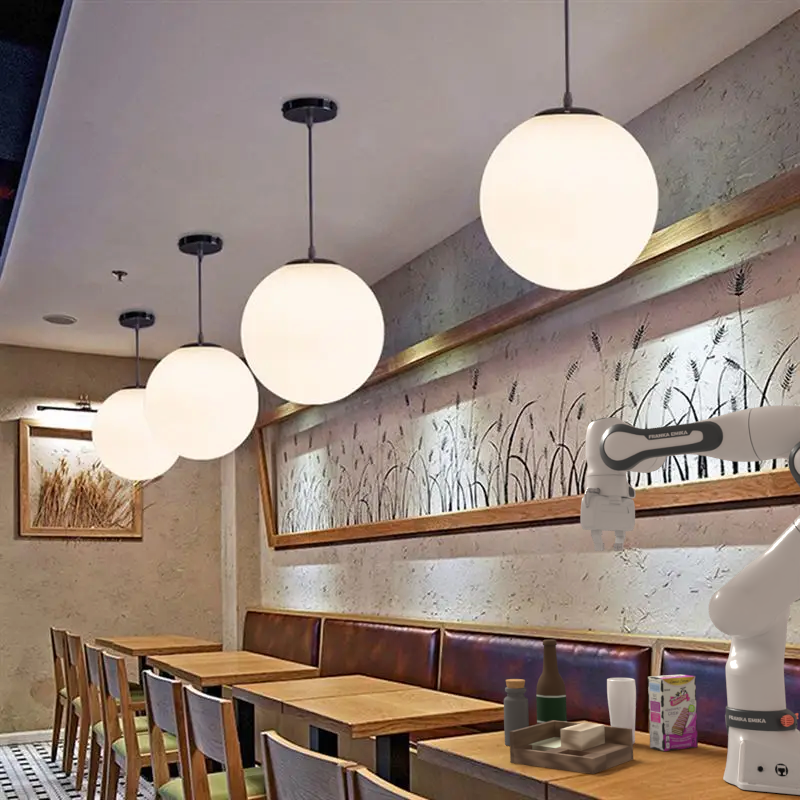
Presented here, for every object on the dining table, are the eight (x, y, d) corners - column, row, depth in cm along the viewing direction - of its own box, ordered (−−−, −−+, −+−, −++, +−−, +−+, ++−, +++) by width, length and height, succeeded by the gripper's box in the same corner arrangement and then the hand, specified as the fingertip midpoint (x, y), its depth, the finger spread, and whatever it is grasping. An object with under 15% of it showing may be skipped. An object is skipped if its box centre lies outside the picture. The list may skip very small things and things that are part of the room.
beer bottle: (561, 744, 236) (558, 641, 240) (531, 741, 240) (528, 640, 244) (573, 739, 242) (570, 639, 246) (544, 736, 246) (541, 638, 250)
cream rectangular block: (604, 743, 220) (604, 724, 221) (581, 750, 212) (580, 731, 212) (584, 740, 223) (584, 722, 224) (561, 748, 215) (560, 729, 215)
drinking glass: (638, 746, 232) (635, 681, 234) (609, 745, 233) (606, 680, 236) (637, 741, 238) (634, 677, 241) (609, 740, 240) (606, 677, 242)
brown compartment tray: (633, 759, 217) (632, 728, 218) (593, 774, 203) (592, 741, 204) (553, 749, 229) (552, 720, 231) (510, 762, 215) (509, 731, 216)
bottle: (500, 743, 237) (498, 679, 239) (520, 741, 239) (518, 678, 242) (513, 747, 232) (512, 681, 234) (534, 745, 234) (532, 680, 237)
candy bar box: (665, 752, 225) (661, 678, 228) (649, 748, 229) (646, 676, 232) (700, 747, 231) (696, 675, 233) (684, 744, 235) (680, 673, 238)
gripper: (598, 486, 213) (600, 550, 210) (638, 491, 229) (641, 551, 226) (572, 487, 217) (574, 551, 214) (613, 492, 232) (616, 551, 230)
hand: (609, 551), depth 220 cm, fingers open, 8 cm apart
